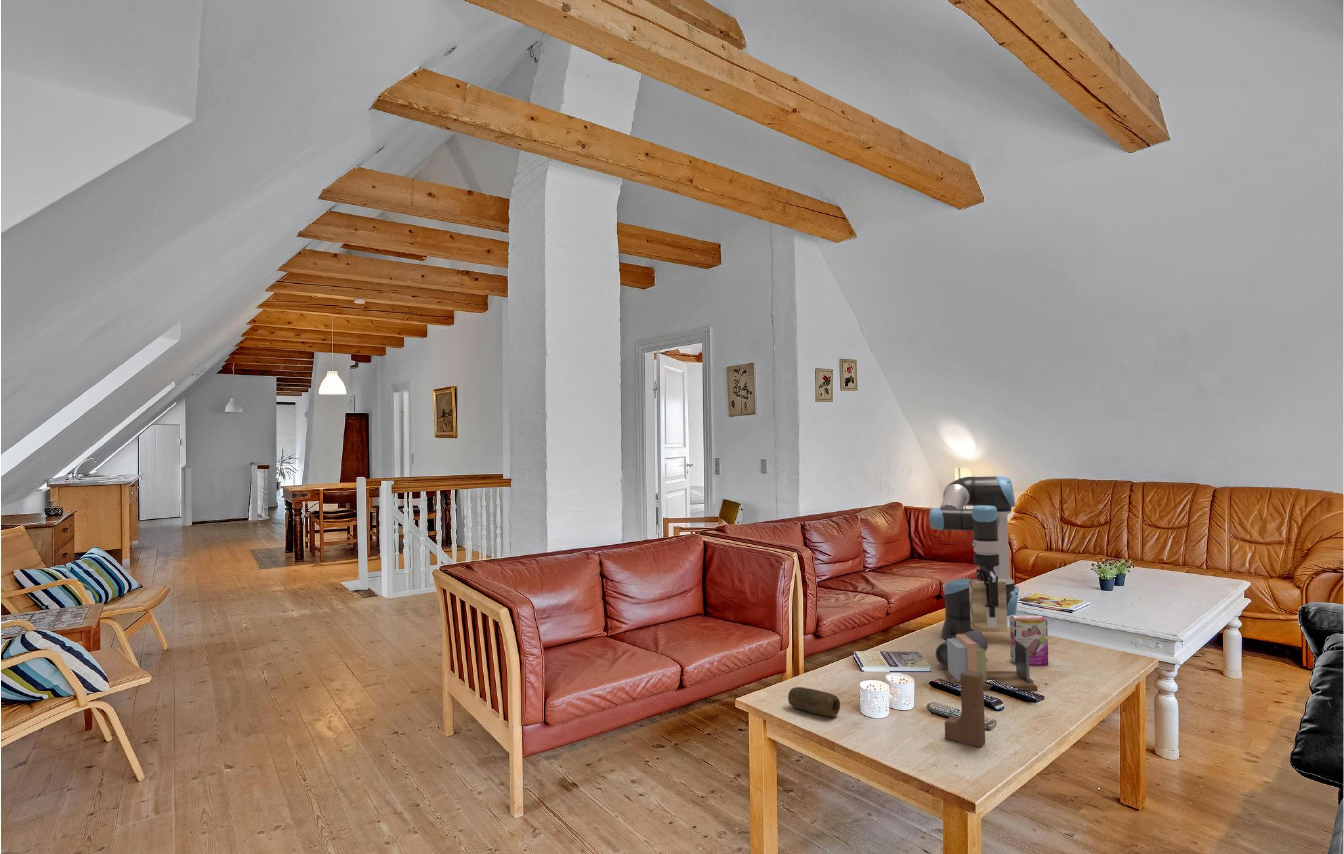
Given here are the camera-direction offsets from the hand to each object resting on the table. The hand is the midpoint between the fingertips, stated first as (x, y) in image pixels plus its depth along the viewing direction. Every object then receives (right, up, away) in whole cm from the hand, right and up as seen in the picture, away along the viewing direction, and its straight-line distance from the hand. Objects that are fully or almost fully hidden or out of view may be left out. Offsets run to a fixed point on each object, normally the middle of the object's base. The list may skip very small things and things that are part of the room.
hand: (988, 624), depth 218 cm
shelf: (-1, -19, -1) cm, 19 cm away
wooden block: (-27, -18, -43) cm, 54 cm away
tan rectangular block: (0, -2, 0) cm, 2 cm away
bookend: (+11, -17, -2) cm, 20 cm away
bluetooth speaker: (-1, -19, +18) cm, 27 cm away
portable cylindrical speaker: (-62, -20, -22) cm, 68 cm away
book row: (-7, -17, 0) cm, 19 cm away
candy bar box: (+22, -19, +17) cm, 34 cm away
